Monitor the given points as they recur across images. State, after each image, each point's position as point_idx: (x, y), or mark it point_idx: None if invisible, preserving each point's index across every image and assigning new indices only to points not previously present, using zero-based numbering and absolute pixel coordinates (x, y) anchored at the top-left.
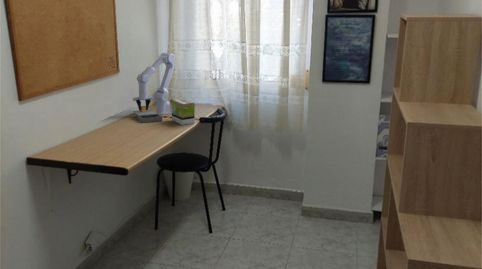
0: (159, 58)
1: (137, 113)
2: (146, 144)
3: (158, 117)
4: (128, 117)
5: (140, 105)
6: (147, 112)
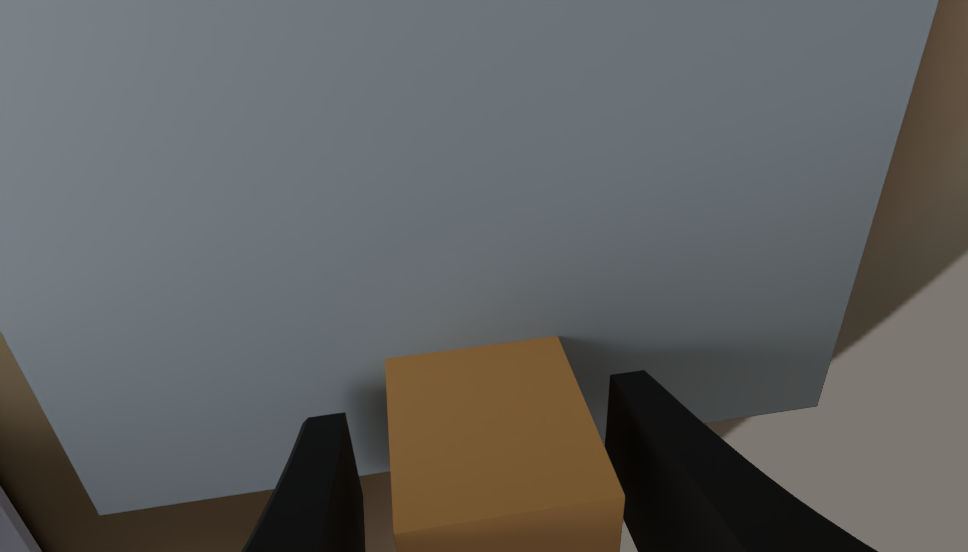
0: None
1: (855, 90)
2: None
3: None
4: (883, 253)
5: (760, 541)
6: (367, 171)
